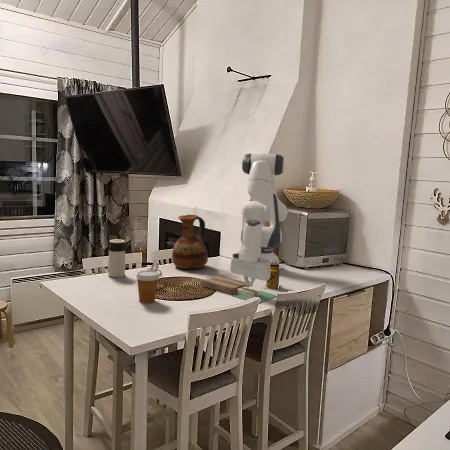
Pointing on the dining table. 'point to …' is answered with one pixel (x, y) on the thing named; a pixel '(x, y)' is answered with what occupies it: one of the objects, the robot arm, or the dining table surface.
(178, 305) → the dining table surface
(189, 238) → the ceramic pitcher
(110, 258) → the travel mug
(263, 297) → the mat
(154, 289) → the disposable coffee cup
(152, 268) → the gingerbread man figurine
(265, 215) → the robot arm
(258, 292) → the tile
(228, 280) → the board
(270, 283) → the condiment
